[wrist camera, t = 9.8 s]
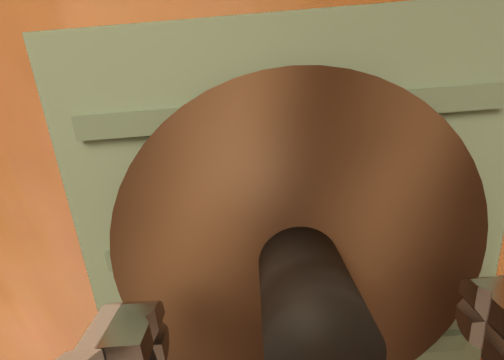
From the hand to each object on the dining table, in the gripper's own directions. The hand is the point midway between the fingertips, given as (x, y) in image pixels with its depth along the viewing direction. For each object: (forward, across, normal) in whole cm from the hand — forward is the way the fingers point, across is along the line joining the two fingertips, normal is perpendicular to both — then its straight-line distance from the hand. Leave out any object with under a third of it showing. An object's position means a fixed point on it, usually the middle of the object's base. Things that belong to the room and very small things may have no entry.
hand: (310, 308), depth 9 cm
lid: (+3, 0, 0) cm, 3 cm away
